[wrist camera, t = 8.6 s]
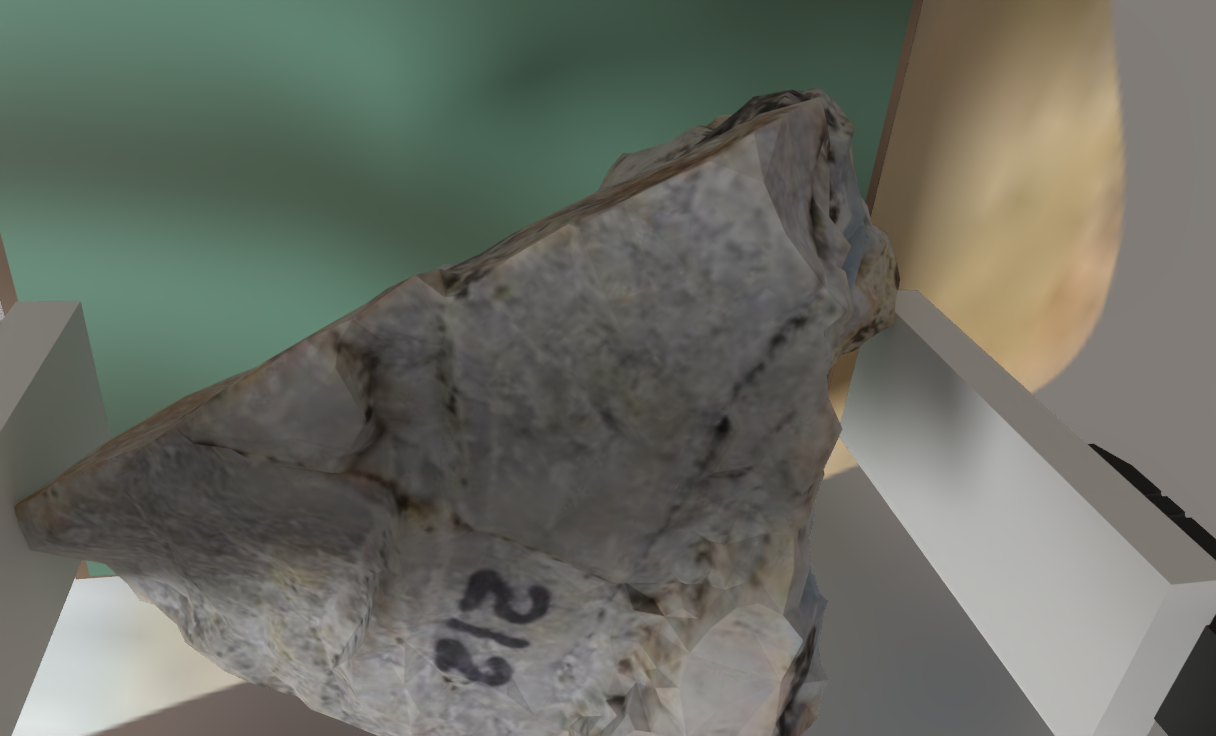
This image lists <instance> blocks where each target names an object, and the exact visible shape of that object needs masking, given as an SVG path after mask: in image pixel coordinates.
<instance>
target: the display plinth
mask: <svg viewBox="0 0 1216 736" xmlns="http://www.w3.org/2000/svg"><path fill="white" fill-rule="evenodd" d="M922 2H923V0H0V300H1V304H2V308H3V311H4V315H5V316H6V314H7V313H8V312H9V310H10V309H11V308H12V306H13V305H14V304H15V302H31V301H81V305H82V309H83V314H84V318H85V323H86V327H87V332H88V336H89V341H90V345H91V350H92V354H93V359H94V363H95V368H96V372H97V377H98V381H99V386H100V390H101V395H102V399H103V404H104V408H105V413H106V417H107V422H108V426H109V431H110V435H111V439H112V438H113V437H115V436H117V435H119V434H120V433H122V432H124V431H125V430H127V429H129V428H131V427H132V426H134V425H136V424H138V423H139V422H141V421H143V420H144V419H146V418H148V417H150V416H151V415H153V414H155V413H157V412H159V411H160V410H162V409H164V408H166V407H167V406H169V405H171V404H173V403H174V402H176V401H178V400H180V399H181V398H183V397H185V396H187V395H189V394H191V393H194V392H196V391H198V390H201V389H203V388H206V387H208V386H210V385H213V384H215V383H217V382H220V381H222V380H224V379H227V378H229V377H232V376H234V375H237V374H239V373H242V372H244V371H247V370H249V369H252V368H255V367H257V366H259V365H261V364H262V363H264V362H265V361H267V360H268V359H270V358H272V357H274V356H275V355H277V354H279V353H280V352H282V351H284V350H286V349H287V348H289V347H291V346H293V345H294V344H296V343H298V342H299V341H301V340H303V339H305V338H306V337H308V336H310V335H311V334H313V333H315V332H317V331H318V330H320V329H322V328H324V327H325V326H327V325H329V324H331V323H332V322H334V321H336V320H338V319H339V318H341V317H343V316H345V315H346V314H348V313H350V312H352V311H353V310H355V309H357V308H359V307H361V306H362V305H364V304H366V303H367V302H369V301H370V300H372V299H373V298H375V297H376V296H377V295H379V294H380V293H382V292H383V291H385V290H386V289H388V288H389V287H391V286H393V285H395V284H397V283H399V282H401V281H403V280H406V279H408V278H410V277H412V276H414V275H417V274H421V273H425V272H429V271H432V270H435V269H438V268H439V267H441V266H442V265H444V264H456V263H461V262H463V261H465V260H468V259H470V258H472V257H474V256H476V255H478V254H480V253H482V252H484V251H485V250H487V249H489V248H490V247H492V246H494V245H495V244H497V243H498V242H500V241H502V240H503V239H505V238H506V237H508V236H510V235H511V234H513V233H515V232H517V231H519V230H521V229H523V228H525V227H527V226H529V225H531V224H533V223H535V222H537V221H539V220H541V219H543V218H545V217H547V216H549V215H551V214H553V213H555V212H557V211H559V210H561V209H563V208H565V207H567V206H569V205H571V204H573V203H575V202H577V201H579V200H581V199H583V198H585V197H587V196H589V195H591V194H594V193H596V192H597V191H598V190H599V188H600V186H601V183H602V181H603V179H604V177H605V175H606V174H607V172H608V170H609V169H610V167H611V166H612V165H613V164H614V163H615V162H616V161H617V159H618V158H619V157H620V156H621V155H622V154H623V153H634V152H638V151H641V150H644V149H647V148H650V147H653V146H656V145H660V144H663V143H666V142H669V141H671V140H673V139H674V138H676V137H677V136H679V135H680V134H682V133H683V132H685V131H687V130H688V129H690V128H693V127H696V126H698V125H701V126H704V125H707V124H709V123H711V122H712V121H713V120H714V119H715V118H716V117H717V116H718V115H729V114H734V113H735V112H737V111H738V110H739V109H740V108H741V107H742V106H743V105H744V104H746V103H747V102H748V101H749V100H750V99H751V98H752V97H754V96H760V95H765V94H771V93H776V92H779V91H780V90H795V91H806V90H809V89H812V88H815V87H818V88H819V89H821V90H822V91H824V92H825V93H826V94H827V95H828V96H829V97H831V98H832V99H833V100H834V101H835V102H836V103H837V104H838V105H839V107H840V108H841V109H842V111H843V112H844V113H845V115H846V116H847V117H848V119H849V120H850V121H851V123H852V124H853V125H854V127H855V130H854V134H853V138H852V142H851V148H852V154H853V160H854V167H855V173H856V179H857V185H858V188H859V192H860V195H861V197H862V199H863V200H864V202H865V203H866V205H867V206H868V210H869V214H870V217H871V213H872V209H873V204H874V200H875V196H876V192H877V188H878V184H879V180H880V176H881V171H882V167H883V163H884V159H885V155H886V151H887V147H888V143H889V138H890V134H891V130H892V126H893V122H894V118H895V114H896V110H897V105H898V101H899V97H900V93H901V89H902V85H903V81H904V77H905V72H906V68H907V64H908V60H909V56H910V52H911V48H912V44H913V39H914V35H915V31H916V27H917V23H918V19H919V15H920V10H921V6H922ZM834 365H835V363H834V364H833V366H832V367H831V368H830V370H829V372H828V378H827V384H828V390H829V386H830V382H831V378H832V374H833V369H834ZM112 576H118V575H117V574H116V573H115V572H114V571H113V570H111V569H110V568H109V567H108V566H107V565H106V564H103V563H97V562H92V561H86V560H82V561H81V563H80V566H79V568H78V571H77V573H76V576H75V577H76V579H86V578H99V577H112Z"/></svg>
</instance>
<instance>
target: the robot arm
mask: <svg viewBox="0 0 1216 736" xmlns="http://www.w3.org/2000/svg"><path fill="white" fill-rule="evenodd" d="M840 425H841V427H842V431H841V433H840V435H839V437H840V439H841V440H842V442H843V443H844V444H845V446H846V447H847V448H848V450H849V451H850V453H851V454H852V455H853V457H854V458H855V460H856V461H857V462H858V464H859V465H860V466H861V468H862V469H863V470H864V472H865V473H866V475H867V476H868V477H869V479H870V480H871V482H872V483H873V484H874V486H875V487H876V488H877V490H878V491H879V493H880V494H881V495H882V497H883V498H884V500H885V501H886V502H887V504H888V505H889V507H890V508H891V509H892V511H893V512H894V513H895V515H896V516H897V518H898V519H899V520H900V522H901V523H902V525H903V526H904V527H905V529H906V530H907V531H908V533H909V534H910V536H911V537H912V538H913V540H914V541H915V542H916V544H917V545H918V547H919V548H920V549H921V551H922V552H923V554H924V555H925V556H926V558H927V559H928V561H929V562H930V563H931V565H932V566H933V567H934V569H935V570H936V572H937V573H938V574H939V576H940V577H941V579H942V580H943V581H944V583H945V584H946V585H947V587H948V588H949V590H950V591H951V592H952V594H953V595H954V597H955V598H956V599H957V601H958V602H959V603H960V605H961V606H962V608H963V609H964V610H965V612H966V613H967V614H968V616H969V617H970V619H971V620H972V621H973V622H974V624H975V626H976V627H977V628H978V630H979V631H980V632H981V634H982V635H983V636H984V638H985V639H986V641H987V642H988V644H989V645H990V646H991V648H992V649H993V651H994V652H995V653H996V655H997V656H998V657H999V659H1000V660H1001V662H1002V663H1003V664H1004V666H1005V667H1006V669H1007V670H1008V671H1009V672H1010V674H1011V675H1012V676H1013V678H1014V680H1015V681H1016V682H1017V684H1018V685H1019V687H1020V688H1021V689H1022V691H1023V692H1024V693H1025V694H1026V696H1027V698H1028V699H1029V700H1030V702H1031V703H1032V704H1033V706H1034V707H1035V709H1036V710H1037V711H1038V713H1039V714H1040V715H1041V717H1042V718H1043V720H1044V721H1045V722H1046V724H1047V725H1048V727H1049V728H1050V729H1051V731H1052V732H1053V734H1054V735H1055V736H1147V734H1148V733H1149V731H1150V729H1151V727H1152V725H1153V724H1154V722H1155V720H1156V721H1157V723H1158V724H1159V725H1160V726H1161V727H1162V729H1163V730H1164V731H1165V732H1166V733H1167V734H1168V736H1216V539H1215V538H1214V537H1213V536H1212V535H1210V534H1209V533H1208V532H1207V531H1206V530H1205V529H1204V528H1203V527H1201V526H1200V525H1199V524H1198V523H1197V522H1196V521H1195V520H1193V519H1192V518H1186V517H1185V512H1184V511H1183V510H1182V509H1181V508H1180V507H1179V506H1178V505H1176V504H1175V503H1174V502H1173V501H1172V500H1171V499H1170V498H1168V497H1167V496H1163V497H1162V495H1161V491H1160V490H1159V489H1158V488H1157V487H1156V486H1155V485H1154V484H1153V483H1151V482H1150V481H1149V480H1148V479H1147V478H1146V477H1144V476H1143V475H1142V474H1141V473H1140V472H1139V471H1138V470H1137V469H1135V468H1134V467H1133V466H1132V465H1130V464H1129V463H1127V462H1125V461H1123V460H1121V459H1120V458H1118V457H1116V456H1114V455H1112V454H1111V453H1109V452H1107V451H1105V450H1103V449H1102V448H1100V447H1098V446H1097V445H1095V444H1087V443H1085V442H1084V441H1083V440H1082V439H1081V438H1080V437H1079V436H1078V435H1077V434H1076V433H1074V432H1073V431H1072V430H1071V429H1070V428H1069V427H1068V426H1067V425H1065V424H1064V423H1063V422H1062V421H1061V420H1060V419H1059V418H1058V417H1057V416H1056V415H1055V414H1053V413H1052V412H1051V411H1050V410H1049V409H1048V408H1047V407H1046V406H1045V405H1044V404H1042V403H1041V402H1040V401H1039V400H1038V399H1037V398H1036V397H1035V396H1034V395H1032V394H1031V393H1030V392H1029V391H1028V390H1027V389H1026V388H1025V387H1024V386H1023V385H1021V384H1020V383H1019V382H1018V381H1017V380H1016V379H1015V378H1014V377H1013V376H1011V375H1010V374H1009V373H1008V372H1007V371H1006V370H1005V369H1004V368H1003V367H1002V366H1000V365H999V364H998V363H997V362H996V361H995V360H994V359H993V358H992V357H990V356H989V355H988V354H987V353H986V352H985V351H984V350H983V349H982V348H981V347H979V346H978V345H977V344H976V343H975V342H974V341H973V340H972V339H971V338H970V337H968V336H967V335H966V334H965V333H964V332H963V331H962V330H961V329H960V328H958V327H957V326H956V325H955V324H954V323H953V322H952V321H951V320H950V319H949V318H947V317H946V316H945V315H944V314H943V313H942V312H941V311H940V310H939V309H937V308H936V307H935V306H934V305H933V304H932V303H931V302H930V301H929V300H928V299H926V298H925V297H924V296H923V295H922V294H921V293H920V292H919V291H918V290H898V292H897V297H896V303H895V315H894V325H892V326H890V327H889V328H887V329H885V330H883V331H881V332H879V333H877V334H876V335H875V336H873V337H872V338H871V339H869V340H868V341H866V342H865V343H864V344H862V345H861V346H860V347H859V351H858V355H857V359H856V363H855V367H854V371H853V375H852V379H851V383H850V387H849V390H848V394H847V398H846V402H845V406H844V410H843V414H842V418H841V422H840ZM110 439H111V435H110V431H109V426H108V422H107V417H106V413H105V408H104V404H103V399H102V395H101V390H100V386H99V381H98V377H97V372H96V368H95V363H94V359H93V354H92V350H91V345H90V341H89V336H88V332H87V327H86V323H85V318H84V314H83V309H82V305H81V301H31V302H15V304H14V305H13V306H12V308H11V309H10V310H9V312H8V313H7V314H6V316H5V317H4V318H3V320H2V321H1V322H0V736H11V735H12V733H13V730H14V728H15V725H16V723H17V720H18V718H19V715H20V713H21V710H22V708H23V705H24V703H25V700H26V698H27V696H28V693H29V691H30V688H31V686H32V683H33V681H34V678H35V676H36V673H37V671H38V668H39V666H40V663H41V661H42V658H43V656H44V653H45V651H46V648H47V646H48V643H49V641H50V638H51V636H52V633H53V631H54V628H55V626H56V623H57V621H58V618H59V616H60V613H61V611H62V608H63V606H64V603H65V601H66V598H67V596H68V593H69V591H70V588H71V586H72V583H73V581H74V578H75V576H76V573H77V571H78V568H79V566H80V563H81V561H82V560H80V559H75V558H69V557H64V556H59V555H54V554H48V553H43V552H38V551H33V550H30V548H29V546H28V543H27V541H26V539H25V537H24V534H23V532H22V530H21V528H20V525H19V522H18V519H17V516H16V512H15V508H14V507H15V506H16V505H17V504H18V503H20V502H21V501H22V500H24V499H25V498H27V497H28V496H30V495H31V494H32V493H34V492H35V491H37V490H38V489H40V488H41V487H42V486H44V485H45V484H47V483H48V482H49V481H51V480H52V479H54V478H55V477H56V476H58V475H59V474H60V473H62V472H63V471H65V470H66V469H67V468H69V467H70V466H71V465H73V464H74V463H76V462H77V461H78V460H80V459H81V458H83V457H84V456H85V455H87V454H88V453H90V452H91V451H92V450H94V449H95V448H97V447H98V446H99V445H101V444H103V443H105V442H106V441H108V440H110Z"/></svg>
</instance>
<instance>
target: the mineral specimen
mask: <svg viewBox="0 0 1216 736" xmlns="http://www.w3.org/2000/svg"><path fill="white" fill-rule="evenodd" d="M854 130H855V127H854V125H853V124H852V123H851V121H850V120H849V119H848V117H847V116H846V115H845V113H844V112H843V111H842V109H841V108H840V107H839V105H838V104H837V103H836V102H835V101H834V100H833V99H832V98H831V97H829V96H828V95H827V94H826V93H825V92H824V91H822V90H821V89H819V88H818V87H815V88H812V89H809V90H806V91H795V90H780V91H779V92H776V93H771V94H765V95H760V96H754V97H752V98H751V99H750V100H749V101H748V102H747V103H746V104H744V105H743V106H742V107H741V108H740V109H739V110H738V111H737V112H735V113H734V114H729V115H718V116H717V117H716V118H715V119H714V120H713V121H712V122H711V123H709V124H707V125H704V126H701V125H698V126H696V127H693V128H690V129H688V130H687V131H685V132H683V133H682V134H680V135H679V136H677V137H676V138H674V139H673V140H671V141H669V142H666V143H663V144H660V145H656V146H653V147H650V148H647V149H644V150H641V151H638V152H634V153H623V154H622V155H621V156H620V157H619V158H618V159H617V161H616V162H615V163H614V164H613V165H612V166H611V167H610V169H609V170H608V172H607V174H606V175H605V177H604V179H603V181H602V183H601V186H600V188H599V190H598V191H597V192H596V193H594V194H591V195H589V196H587V197H585V198H583V199H581V200H579V201H577V202H575V203H573V204H571V205H569V206H567V207H565V208H563V209H561V210H559V211H557V212H555V213H553V214H551V215H549V216H547V217H545V218H543V219H541V220H539V221H537V222H535V223H533V224H531V225H529V226H527V227H525V228H523V229H521V230H519V231H517V232H515V233H513V234H511V235H510V236H508V237H506V238H505V239H503V240H502V241H500V242H498V243H497V244H495V245H494V246H492V247H490V248H489V249H487V250H485V251H484V252H482V253H480V254H478V255H476V256H474V257H472V258H470V259H468V260H465V261H463V262H461V263H456V264H444V265H442V266H441V267H439V268H438V269H435V270H432V271H429V272H425V273H421V274H417V275H414V276H412V277H410V278H408V279H406V280H403V281H401V282H399V283H397V284H395V285H393V286H391V287H389V288H388V289H386V290H385V291H383V292H382V293H380V294H379V295H377V296H376V297H375V298H373V299H372V300H370V301H369V302H367V303H366V304H364V305H362V306H361V307H359V308H357V309H355V310H353V311H352V312H350V313H348V314H346V315H345V316H343V317H341V318H339V319H338V320H336V321H334V322H332V323H331V324H329V325H327V326H325V327H324V328H322V329H320V330H318V331H317V332H315V333H313V334H311V335H310V336H308V337H306V338H305V339H303V340H301V341H299V342H298V343H296V344H294V345H293V346H291V347H289V348H287V349H286V350H284V351H282V352H280V353H279V354H277V355H275V356H274V357H272V358H270V359H268V360H267V361H265V362H264V363H262V364H261V365H259V366H257V367H255V368H252V369H249V370H247V371H244V372H242V373H239V374H237V375H234V376H232V377H229V378H227V379H224V380H222V381H220V382H217V383H215V384H213V385H210V386H208V387H206V388H203V389H201V390H198V391H196V392H194V393H191V394H189V395H187V396H185V397H183V398H181V399H180V400H178V401H176V402H174V403H173V404H171V405H169V406H167V407H166V408H164V409H162V410H160V411H159V412H157V413H155V414H153V415H151V416H150V417H148V418H146V419H144V420H143V421H141V422H139V423H138V424H136V425H134V426H132V427H131V428H129V429H127V430H125V431H124V432H122V433H120V434H119V435H117V436H115V437H113V438H112V439H110V440H108V441H106V442H105V443H103V444H101V445H99V446H98V447H97V448H95V449H94V450H92V451H91V452H90V453H88V454H87V455H85V456H84V457H83V458H81V459H80V460H78V461H77V462H76V463H74V464H73V465H71V466H70V467H69V468H67V469H66V470H65V471H63V472H62V473H60V474H59V475H58V476H56V477H55V478H54V479H52V480H51V481H49V482H48V483H47V484H45V485H44V486H42V487H41V488H40V489H38V490H37V491H35V492H34V493H32V494H31V495H30V496H28V497H27V498H25V499H24V500H22V501H21V502H20V503H18V504H17V505H16V506H15V507H14V508H15V512H16V516H17V519H18V522H19V525H20V528H21V530H22V532H23V534H24V537H25V539H26V541H27V543H28V546H29V548H30V550H33V551H38V552H43V553H48V554H54V555H59V556H64V557H69V558H75V559H80V560H86V561H92V562H97V563H103V564H106V565H107V566H108V567H109V568H110V569H111V570H113V571H114V572H115V573H116V574H117V575H118V576H119V577H120V578H122V579H123V580H124V581H125V582H126V583H127V584H128V585H129V586H130V588H131V589H132V590H133V592H134V593H135V594H136V596H137V597H138V598H139V600H140V601H144V602H147V603H151V604H154V605H156V606H157V607H158V608H159V609H160V610H161V611H162V612H163V613H164V614H166V615H167V616H168V617H169V618H170V619H171V620H172V621H173V622H174V623H176V624H177V626H178V628H179V630H180V632H181V634H182V636H183V638H184V640H185V642H186V643H187V644H188V645H190V646H191V647H192V648H194V649H195V650H196V651H198V652H199V653H201V654H202V655H203V656H205V657H206V658H208V659H209V660H210V661H212V662H213V663H214V664H216V665H217V666H219V667H220V668H221V669H223V670H224V671H226V672H228V673H230V674H232V675H235V676H237V677H239V678H242V679H244V680H246V681H249V682H251V683H253V684H256V685H258V686H262V687H266V688H269V689H273V690H276V691H280V692H284V693H288V694H292V695H295V696H298V697H299V698H300V699H302V701H303V702H304V703H305V704H306V705H307V706H308V707H310V709H312V710H315V711H317V712H320V713H322V714H325V715H328V716H330V717H333V718H336V719H338V720H341V721H343V722H346V723H348V724H351V725H353V726H355V727H358V728H360V729H363V730H365V731H368V732H370V733H373V734H375V735H378V736H802V735H803V734H804V733H805V731H807V729H808V728H809V727H810V726H811V725H812V723H813V722H814V721H815V720H816V719H817V715H818V711H819V707H820V702H821V698H822V694H823V691H824V689H825V686H826V684H827V682H828V677H827V675H826V673H825V671H824V669H823V667H822V665H821V661H820V654H819V641H820V635H821V629H822V623H823V617H824V612H825V609H826V605H827V602H828V601H827V600H826V599H825V598H824V597H823V596H822V595H821V594H820V593H819V591H818V588H817V587H818V586H817V581H816V575H815V570H814V567H813V566H812V564H811V559H810V542H809V541H810V540H809V536H810V533H811V529H812V526H813V515H814V504H815V499H816V496H817V494H818V491H819V488H820V485H821V482H822V479H823V477H824V467H825V465H826V463H827V461H828V459H829V457H830V455H831V452H832V450H833V448H834V446H835V444H836V442H837V440H838V438H839V435H840V433H841V431H842V427H841V425H840V422H839V420H838V418H837V416H836V414H835V411H834V409H833V407H832V405H831V403H830V400H829V396H828V384H827V378H828V372H829V370H830V368H831V367H832V366H833V364H834V363H835V362H836V360H837V359H838V358H839V356H840V355H841V354H844V353H848V352H852V351H854V350H856V349H857V348H858V347H860V346H861V345H862V344H864V343H865V342H866V341H868V340H869V339H871V338H872V337H873V336H875V335H876V334H877V333H879V332H881V331H883V330H885V329H887V328H889V327H890V326H892V325H894V315H895V303H896V297H897V292H898V287H899V282H900V277H899V272H898V267H897V263H896V258H895V253H894V251H893V248H892V245H891V242H890V240H889V237H888V234H887V233H886V232H884V231H883V230H881V229H880V228H878V227H876V226H875V225H873V224H872V222H871V218H870V214H869V210H868V206H867V205H866V203H865V202H864V200H863V199H862V197H861V195H860V192H859V188H858V185H857V179H856V173H855V167H854V160H853V154H852V148H851V142H852V138H853V134H854Z"/></svg>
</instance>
